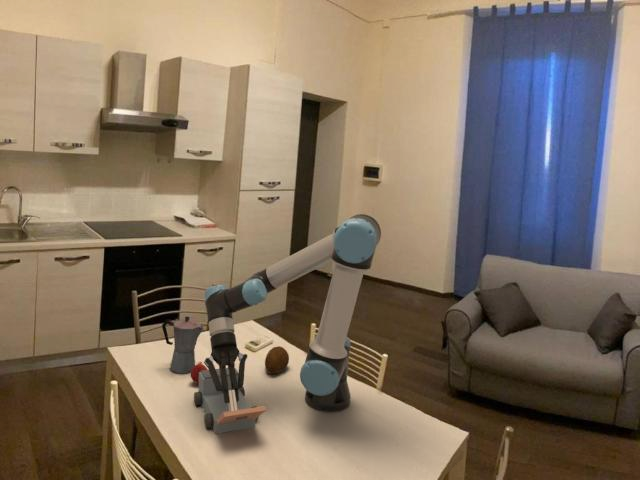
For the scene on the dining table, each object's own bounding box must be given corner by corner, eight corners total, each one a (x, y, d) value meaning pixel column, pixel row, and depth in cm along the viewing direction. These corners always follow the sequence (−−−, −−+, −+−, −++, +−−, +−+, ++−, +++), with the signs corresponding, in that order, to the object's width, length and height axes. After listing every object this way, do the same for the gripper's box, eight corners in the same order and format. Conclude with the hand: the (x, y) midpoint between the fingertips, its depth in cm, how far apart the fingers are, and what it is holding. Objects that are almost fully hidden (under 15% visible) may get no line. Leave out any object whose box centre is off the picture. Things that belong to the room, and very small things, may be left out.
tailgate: (215, 420, 153) (223, 412, 145) (255, 414, 158) (265, 405, 150) (216, 426, 153) (224, 418, 145) (256, 420, 158) (266, 412, 150)
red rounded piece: (203, 388, 180) (204, 366, 178) (187, 386, 181) (188, 364, 180) (210, 381, 186) (211, 360, 184) (194, 378, 187) (195, 357, 185)
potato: (255, 372, 196) (256, 349, 194) (275, 362, 206) (276, 340, 204) (273, 379, 191) (275, 356, 190) (293, 368, 201) (294, 346, 200)
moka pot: (199, 376, 189) (201, 322, 185) (156, 372, 189) (157, 319, 185) (205, 365, 198) (208, 313, 194) (164, 361, 198) (165, 310, 195)
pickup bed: (192, 398, 173) (193, 371, 171) (239, 392, 179) (240, 365, 178) (208, 434, 153) (210, 403, 152) (260, 425, 160) (262, 395, 158)
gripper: (240, 337, 168) (252, 413, 158) (198, 341, 162) (207, 420, 152) (246, 328, 162) (259, 407, 152) (203, 332, 157) (213, 414, 146)
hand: (233, 414), depth 152 cm, fingers closed
